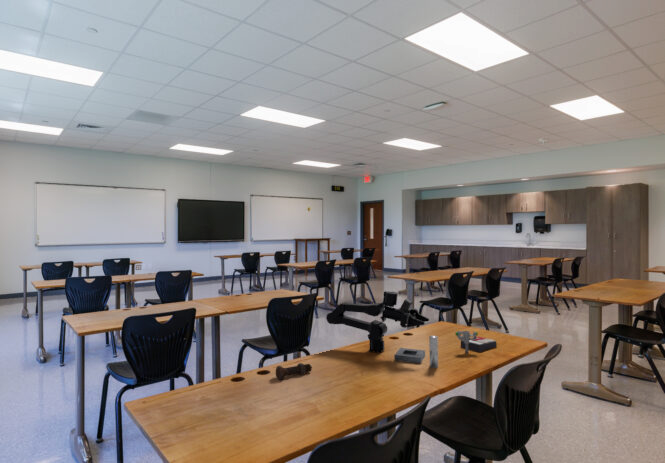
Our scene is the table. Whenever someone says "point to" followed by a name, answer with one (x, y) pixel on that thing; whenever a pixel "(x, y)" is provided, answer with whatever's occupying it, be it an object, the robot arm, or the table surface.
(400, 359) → the block
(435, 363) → the axle
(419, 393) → the table surface
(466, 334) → the mechanical component
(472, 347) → the calculator
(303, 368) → the dark brown knobby piece
